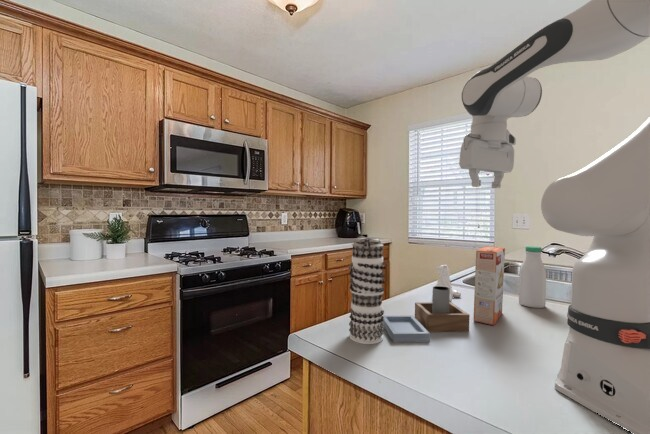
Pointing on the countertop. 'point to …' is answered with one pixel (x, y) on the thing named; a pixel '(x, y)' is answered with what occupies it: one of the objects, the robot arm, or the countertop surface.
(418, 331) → the tray
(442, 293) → the grey cylinder
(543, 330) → the countertop surface
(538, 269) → the milk bottle
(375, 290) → the decorative candle
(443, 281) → the sitting furry creature
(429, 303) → the box
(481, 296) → the cracker box
